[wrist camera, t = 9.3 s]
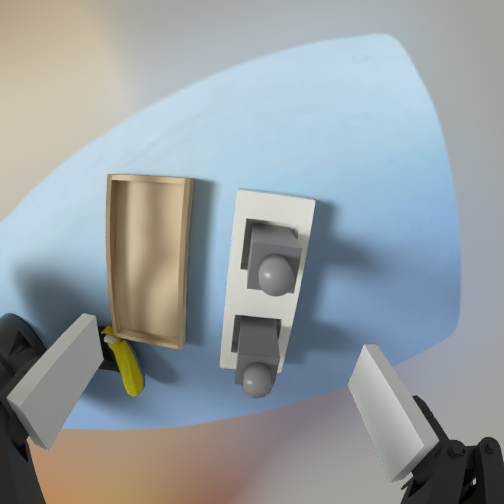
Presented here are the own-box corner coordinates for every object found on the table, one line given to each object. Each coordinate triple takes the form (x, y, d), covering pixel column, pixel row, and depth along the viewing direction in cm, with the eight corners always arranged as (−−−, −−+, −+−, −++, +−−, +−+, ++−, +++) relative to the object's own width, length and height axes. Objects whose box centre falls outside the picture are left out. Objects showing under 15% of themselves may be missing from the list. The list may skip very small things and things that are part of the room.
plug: (252, 222, 31) (253, 251, 19) (288, 226, 31) (308, 257, 20) (248, 256, 32) (246, 302, 21) (282, 260, 32) (298, 307, 21)
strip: (219, 382, 38) (216, 399, 34) (238, 188, 30) (236, 190, 26) (272, 386, 38) (273, 404, 34) (309, 197, 30) (317, 201, 27)
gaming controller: (153, 378, 38) (137, 324, 35) (143, 401, 33) (123, 346, 30) (79, 367, 38) (60, 319, 35) (65, 386, 33) (42, 336, 30)
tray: (119, 328, 35) (113, 335, 33) (116, 174, 29) (107, 174, 27) (185, 340, 35) (182, 350, 33) (194, 178, 30) (190, 178, 27)
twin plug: (238, 337, 35) (233, 400, 24) (241, 310, 34) (237, 371, 22) (268, 340, 35) (274, 403, 24) (273, 313, 34) (282, 374, 23)
